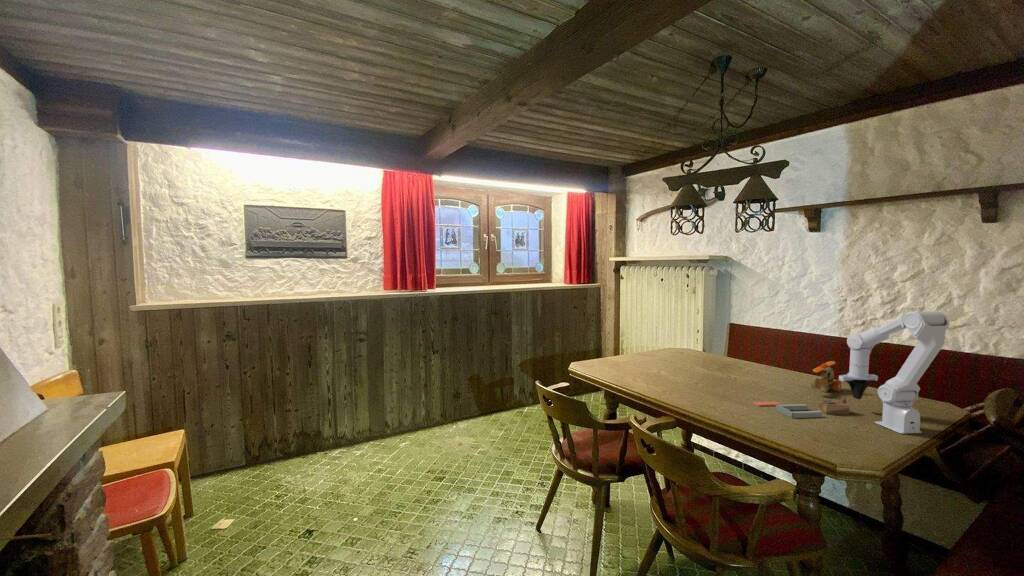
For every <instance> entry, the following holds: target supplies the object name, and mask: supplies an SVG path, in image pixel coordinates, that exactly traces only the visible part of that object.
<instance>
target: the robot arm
mask: <svg viewBox="0 0 1024 576" xmlns="http://www.w3.org/2000/svg"><path fill="white" fill-rule="evenodd" d="M950 325H951V323H950V322H949V320H948V317H947V316H946V314H944V313H943V312H941V311H939V310H931V311H914V310H912V311H907V312H906V313H903V314H901V315H900V316H899V317H897V318H895V319H894V320H892V321H890V322H888V323H886V324H885V325H882V326H880V325H871V326H869V329H866V330H863V331H862V330H861V331H860V332H859V334H850V335H849V336H848V337H847V339H846V344H847V346H848V348H849V350H850V351H849V352H850V353H849V367H848V369H849V370H848V372H847V374H840V375H838V381H840V382H847V384H848V385H849V387H850V390H851V395H852V397H853V398H854V399H855V400H856V399H857V400H862V397H863V395H864V393H865V391H866V389H867V388H868V387H869V386H870V384H871V383H870V382H869V381H876V382H877V381H878V379H879V375H876V374H870V373H869V368H870V367H869V365H870V355H871V353H872V350H873V348H874V347H875V345H878V344H880V343H883V342H884V341H887V340H889V337H890V335H892V334H894V333H897V332H900V331H902V330H905V329H907V331H908V332H910V334H911V335H912V336H913V337H914V339H916V340H917V343H916V345H915V346H914V348H913V349H912V351H911V352H910V354H909V355H908V356H907V358H906V360H905V362H904V363H903V364H902V366H901V368H900V369H899V371H898V372H897V374H896V375H895V376H894V377H892V378H890V379H888V380H886V381H885V383H883V384H882V385H880V386H879V387H878V388H877V395H878V397H879V399H880V400H881V402H882V414H881V420H879V421H878V420H877V421H874V423H875V424H877V425H880V427H885V428H886V429H889V430H891V431H893V432H896V433H898V434H922V431H921V428H920V427H921V413H920V411H918V410H917V409H916V408H913V404H914V402H916V401H917V400H918V398H919V392H920V390H921V387H920V385H919V384H918V382H919V381H920V380H921V378H922V377H923V375H924V373H926V371H927V369H929V367H930V365H931V363H932V362H933V361H934V359H935V358H936V356H937V355H938V354H939V352H941V349H942V348H943V347H944V344H945V339H946V331H947V329H948V328H949V326H950Z"/></svg>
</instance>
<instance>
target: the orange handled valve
mask: <svg viewBox="0 0 1024 576" xmlns="http://www.w3.org/2000/svg"><path fill="white" fill-rule="evenodd" d="M835 364H836V361H834V360H830V361H827V362H825V363H821V365H819V366H817V367H815V368H813V369H812V371H813V372H814V373H820V374H819V376H817V377H814V376H813V377H811V379H810V381H809V383H810V385H809V386H810V387H811V388H812V389H816V390H817V389H819V388H820V391H821V392H824V393H827V392H828V390H830V389H832V390H833V391H834V392H837V393H839V392H841V389H842V381H840V380H834V379H835V372H834V369H833V368H832V367H831V366H833V365H835Z"/></svg>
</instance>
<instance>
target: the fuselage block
mask: <svg viewBox="0 0 1024 576" xmlns="http://www.w3.org/2000/svg"><path fill="white" fill-rule="evenodd" d="M817 407H818V408H817V411H818V410H819V411H821V412H823V413H822V414H824V413H825V414H824V415H849V414H850V404H849V403H847V399H846V398H840V400H823V401H822V400H819V401H818V406H817Z"/></svg>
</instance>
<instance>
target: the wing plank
mask: <svg viewBox="0 0 1024 576" xmlns="http://www.w3.org/2000/svg"><path fill="white" fill-rule="evenodd" d="M752 403H754V404H753V405H755V404H756V405H755V406H757V407H776V405H783V404H782V403H781V402H778V401H776V400H775V401H753V402H752Z"/></svg>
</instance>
